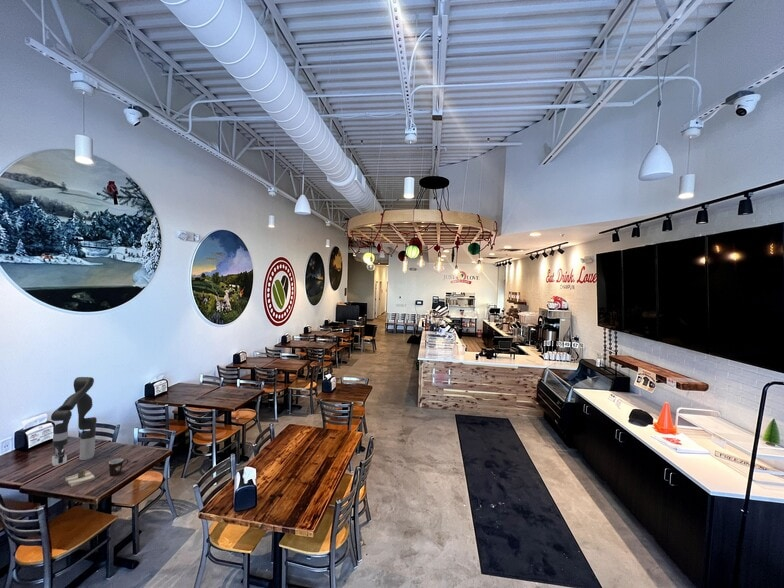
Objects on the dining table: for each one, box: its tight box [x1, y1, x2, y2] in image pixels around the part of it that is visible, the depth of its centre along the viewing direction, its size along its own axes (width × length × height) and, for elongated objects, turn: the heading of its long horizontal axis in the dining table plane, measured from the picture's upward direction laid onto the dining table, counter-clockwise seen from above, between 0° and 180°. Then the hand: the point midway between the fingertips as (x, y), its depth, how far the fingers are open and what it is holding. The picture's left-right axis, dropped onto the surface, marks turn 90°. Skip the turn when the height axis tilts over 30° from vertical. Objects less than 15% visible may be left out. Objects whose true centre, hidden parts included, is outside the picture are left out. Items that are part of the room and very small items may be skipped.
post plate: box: [64, 468, 96, 488], centre depth 243 cm, size 16×13×6 cm
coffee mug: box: [108, 458, 129, 478], centre depth 252 cm, size 12×9×10 cm
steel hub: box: [51, 453, 68, 467], centre depth 235 cm, size 6×6×5 cm
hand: (59, 461), depth 235 cm, fingers closed on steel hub, 6 cm apart
